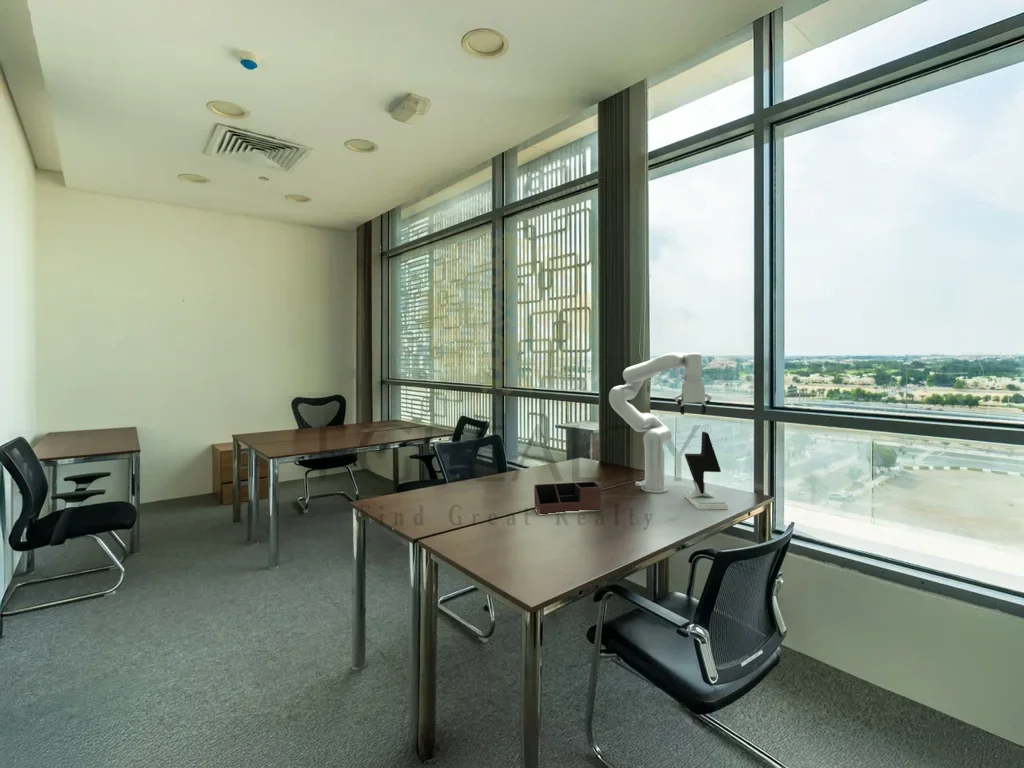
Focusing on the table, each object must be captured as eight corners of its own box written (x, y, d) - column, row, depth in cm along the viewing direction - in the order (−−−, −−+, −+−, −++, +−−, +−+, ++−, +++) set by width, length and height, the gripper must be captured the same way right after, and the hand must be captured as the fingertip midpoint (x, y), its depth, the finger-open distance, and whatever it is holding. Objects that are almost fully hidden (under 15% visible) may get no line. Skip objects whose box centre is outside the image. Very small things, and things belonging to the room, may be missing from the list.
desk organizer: (602, 511, 216) (602, 486, 216) (538, 516, 211) (538, 490, 211) (594, 504, 227) (594, 480, 226) (533, 508, 222) (532, 484, 221)
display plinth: (697, 509, 217) (698, 502, 217) (684, 497, 236) (684, 491, 236) (727, 509, 216) (727, 502, 216) (712, 497, 235) (712, 491, 235)
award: (716, 494, 229) (717, 431, 227) (720, 497, 224) (721, 433, 222) (683, 494, 230) (684, 431, 228) (687, 497, 225) (687, 433, 223)
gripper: (677, 379, 230) (676, 415, 231) (714, 378, 229) (713, 415, 230) (672, 378, 237) (672, 413, 238) (708, 378, 236) (708, 413, 237)
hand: (692, 414), depth 234 cm, fingers open, 9 cm apart
